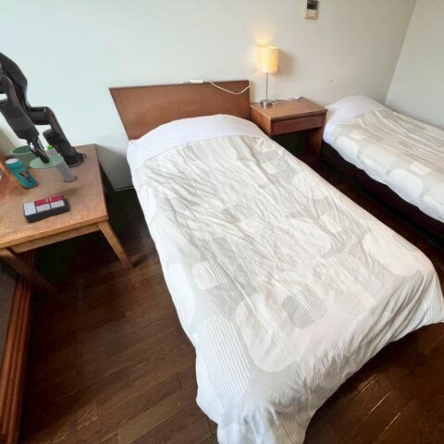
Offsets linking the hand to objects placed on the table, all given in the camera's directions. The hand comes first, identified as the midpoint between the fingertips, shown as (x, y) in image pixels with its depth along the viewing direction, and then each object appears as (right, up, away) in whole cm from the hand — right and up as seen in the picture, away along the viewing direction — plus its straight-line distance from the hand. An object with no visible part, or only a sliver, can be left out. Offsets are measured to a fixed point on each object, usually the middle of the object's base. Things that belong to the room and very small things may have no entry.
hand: (46, 160), depth 119 cm
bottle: (-7, -5, +21) cm, 23 cm away
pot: (-38, +6, +30) cm, 48 cm away
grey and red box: (0, -24, +1) cm, 24 cm away
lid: (0, 0, +1) cm, 1 cm away
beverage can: (-22, -10, +14) cm, 28 cm away
